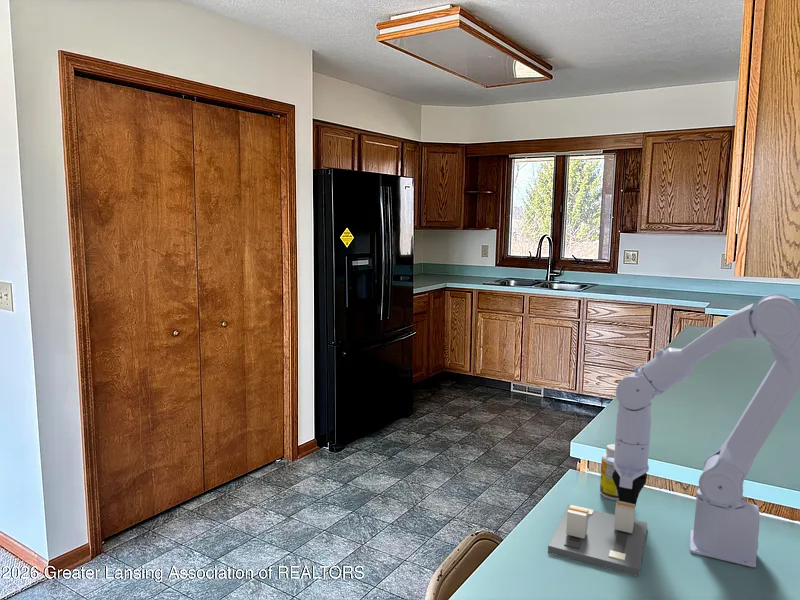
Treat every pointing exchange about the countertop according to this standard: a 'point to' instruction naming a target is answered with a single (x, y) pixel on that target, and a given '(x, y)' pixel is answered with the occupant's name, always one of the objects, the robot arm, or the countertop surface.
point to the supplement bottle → (608, 475)
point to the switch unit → (602, 543)
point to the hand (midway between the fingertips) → (627, 511)
